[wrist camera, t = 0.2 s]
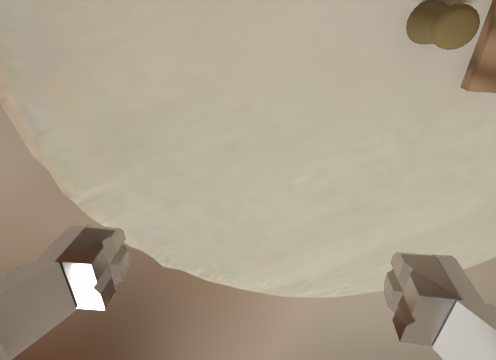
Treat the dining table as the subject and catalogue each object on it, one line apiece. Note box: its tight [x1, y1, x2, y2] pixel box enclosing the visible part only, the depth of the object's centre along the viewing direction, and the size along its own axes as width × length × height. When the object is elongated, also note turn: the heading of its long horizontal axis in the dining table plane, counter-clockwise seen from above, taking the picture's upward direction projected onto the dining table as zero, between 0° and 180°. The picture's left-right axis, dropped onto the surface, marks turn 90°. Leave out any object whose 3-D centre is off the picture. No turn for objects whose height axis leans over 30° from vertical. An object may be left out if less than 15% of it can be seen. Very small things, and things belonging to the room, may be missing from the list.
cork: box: [406, 0, 480, 50], centre depth 43 cm, size 6×6×11 cm
